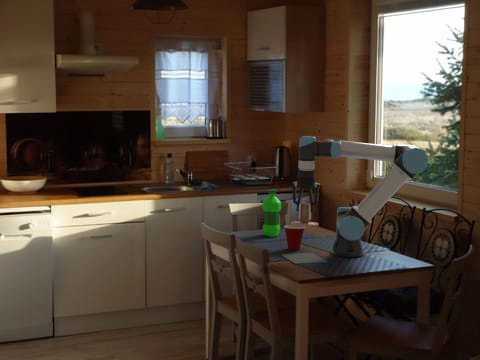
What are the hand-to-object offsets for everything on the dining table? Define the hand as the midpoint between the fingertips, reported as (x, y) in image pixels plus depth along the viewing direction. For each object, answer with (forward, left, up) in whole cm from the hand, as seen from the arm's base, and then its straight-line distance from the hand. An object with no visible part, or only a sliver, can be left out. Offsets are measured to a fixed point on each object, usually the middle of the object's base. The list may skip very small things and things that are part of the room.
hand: (304, 218), depth 363 cm
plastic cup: (+16, -12, -20) cm, 28 cm away
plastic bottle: (+45, -28, -20) cm, 56 cm away
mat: (0, 0, -19) cm, 19 cm away
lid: (0, 0, -3) cm, 3 cm away
